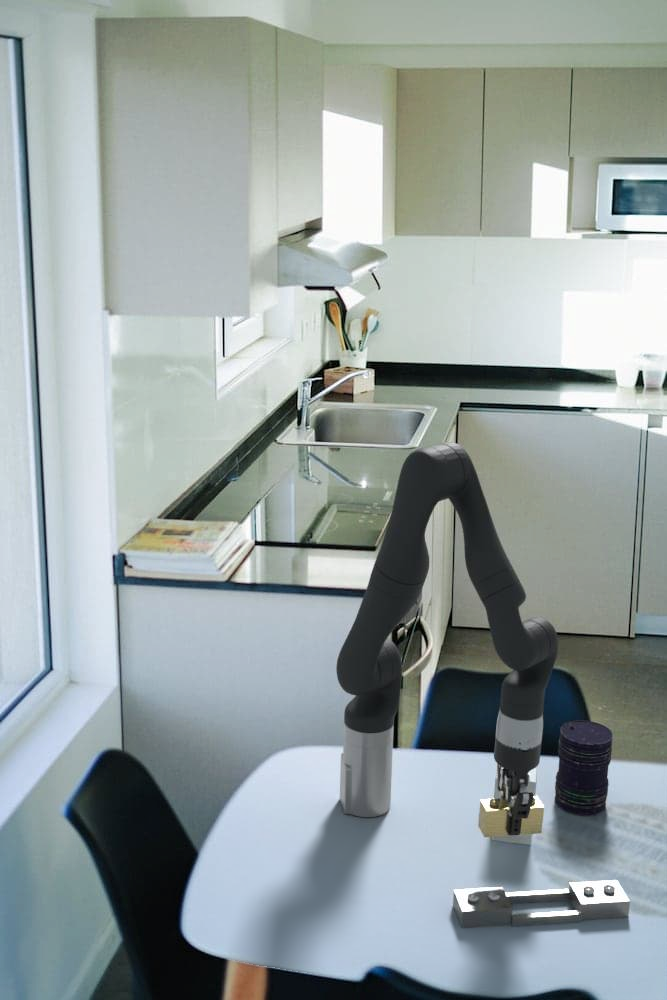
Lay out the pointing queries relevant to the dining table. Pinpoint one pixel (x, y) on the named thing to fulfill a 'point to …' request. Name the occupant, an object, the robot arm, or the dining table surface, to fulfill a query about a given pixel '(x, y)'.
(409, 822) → the dining table surface
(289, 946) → the dining table surface
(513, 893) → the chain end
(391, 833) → the dining table surface
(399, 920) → the dining table surface
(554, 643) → the robot arm
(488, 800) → the link
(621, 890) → the chain end
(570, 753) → the dark purple cylinder
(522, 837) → the supplement box
